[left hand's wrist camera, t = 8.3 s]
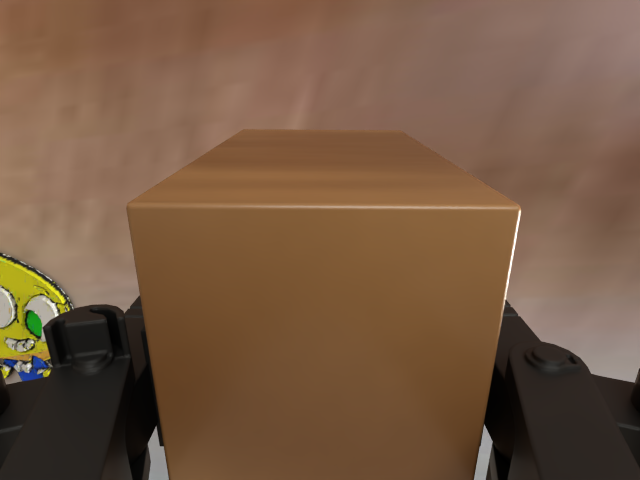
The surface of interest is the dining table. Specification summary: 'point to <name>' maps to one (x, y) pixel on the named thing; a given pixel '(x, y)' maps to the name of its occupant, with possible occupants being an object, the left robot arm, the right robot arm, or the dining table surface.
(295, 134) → the post
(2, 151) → the dining table surface
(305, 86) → the dining table surface
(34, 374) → the toy
